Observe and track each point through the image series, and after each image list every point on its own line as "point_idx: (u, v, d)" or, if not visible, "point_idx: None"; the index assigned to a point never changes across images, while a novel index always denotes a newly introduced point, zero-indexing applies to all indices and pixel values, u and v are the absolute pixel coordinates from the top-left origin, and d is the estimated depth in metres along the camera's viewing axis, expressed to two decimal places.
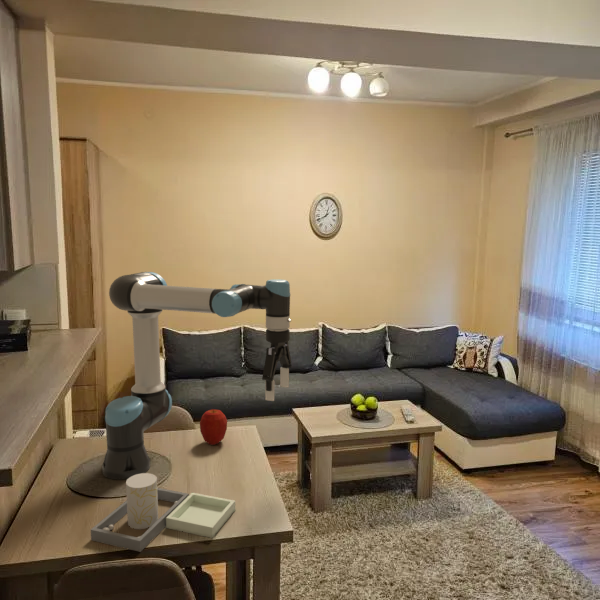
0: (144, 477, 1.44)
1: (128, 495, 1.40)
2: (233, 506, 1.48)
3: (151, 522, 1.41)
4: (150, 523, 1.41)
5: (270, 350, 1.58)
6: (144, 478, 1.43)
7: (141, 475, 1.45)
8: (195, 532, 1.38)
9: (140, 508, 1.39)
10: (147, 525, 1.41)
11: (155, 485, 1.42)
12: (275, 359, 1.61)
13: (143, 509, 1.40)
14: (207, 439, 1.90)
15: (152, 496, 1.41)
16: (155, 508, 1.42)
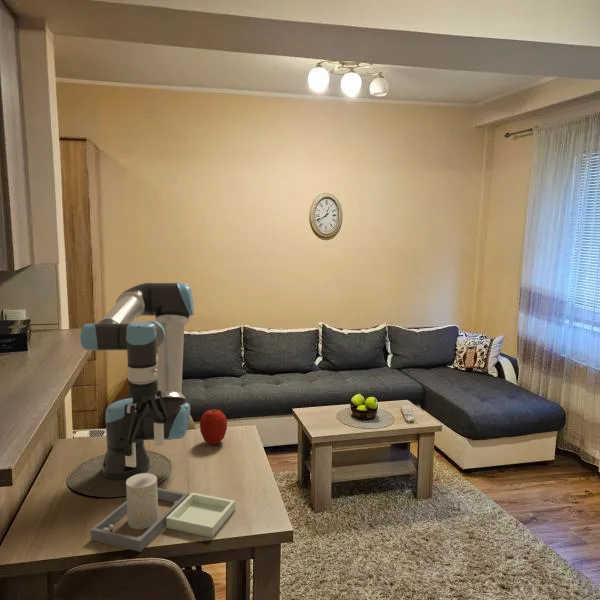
0: (144, 477, 1.44)
1: (128, 495, 1.40)
2: (233, 506, 1.48)
3: (151, 522, 1.41)
4: (150, 523, 1.41)
5: (128, 407, 1.33)
6: (144, 478, 1.43)
7: (141, 475, 1.45)
8: (195, 532, 1.38)
9: (140, 508, 1.39)
10: (147, 525, 1.41)
11: (155, 485, 1.42)
12: (137, 417, 1.36)
13: (143, 509, 1.40)
14: (207, 439, 1.90)
15: (152, 496, 1.41)
16: (155, 508, 1.42)
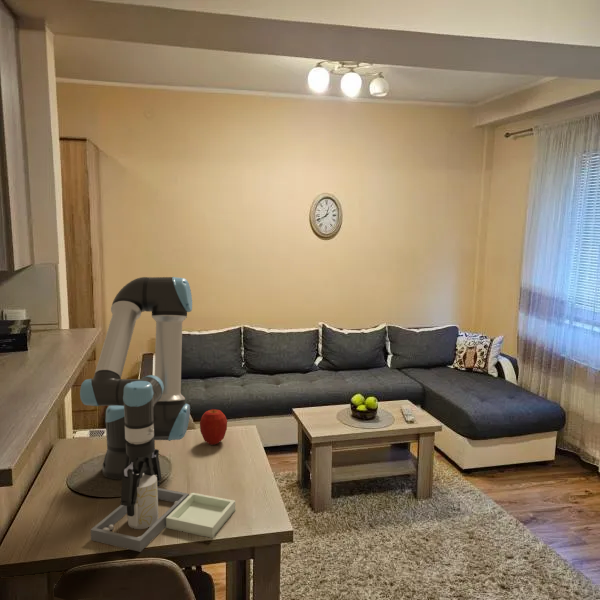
0: (144, 477, 1.44)
1: None
2: (233, 506, 1.48)
3: (151, 522, 1.41)
4: (150, 523, 1.41)
5: (125, 472, 1.35)
6: (144, 478, 1.43)
7: None
8: (195, 532, 1.38)
9: (140, 508, 1.39)
10: (147, 525, 1.41)
11: (155, 485, 1.42)
12: (136, 478, 1.38)
13: (143, 509, 1.40)
14: (207, 439, 1.90)
15: (152, 496, 1.41)
16: (155, 508, 1.42)
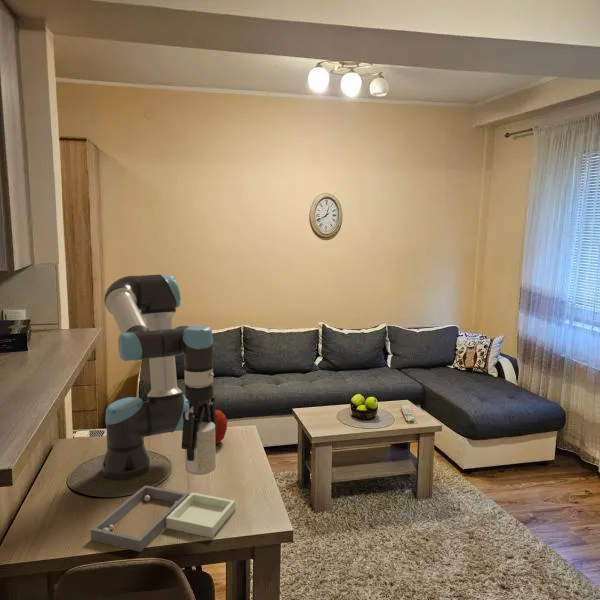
0: (202, 424, 1.42)
1: None
2: (233, 506, 1.48)
3: (210, 468, 1.40)
4: (209, 469, 1.40)
5: (187, 415, 1.34)
6: (202, 424, 1.42)
7: None
8: (195, 532, 1.38)
9: (200, 453, 1.38)
10: (206, 471, 1.39)
11: (214, 431, 1.40)
12: (196, 422, 1.37)
13: (203, 454, 1.38)
14: None
15: (211, 441, 1.39)
16: (213, 454, 1.41)
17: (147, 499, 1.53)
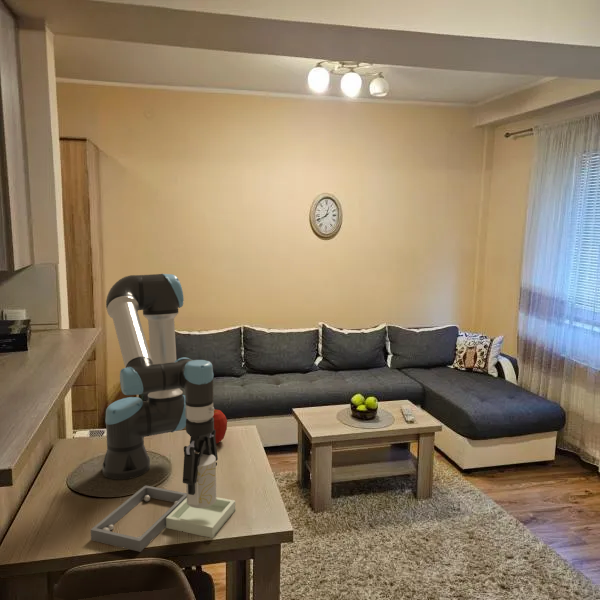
0: (203, 457, 1.44)
1: None
2: (233, 506, 1.48)
3: (211, 501, 1.41)
4: (210, 502, 1.41)
5: (187, 450, 1.35)
6: (203, 457, 1.43)
7: None
8: (195, 532, 1.38)
9: (201, 487, 1.39)
10: (207, 504, 1.41)
11: (214, 464, 1.42)
12: (197, 456, 1.39)
13: (204, 487, 1.40)
14: None
15: (212, 474, 1.41)
16: (214, 487, 1.42)
17: (147, 499, 1.53)
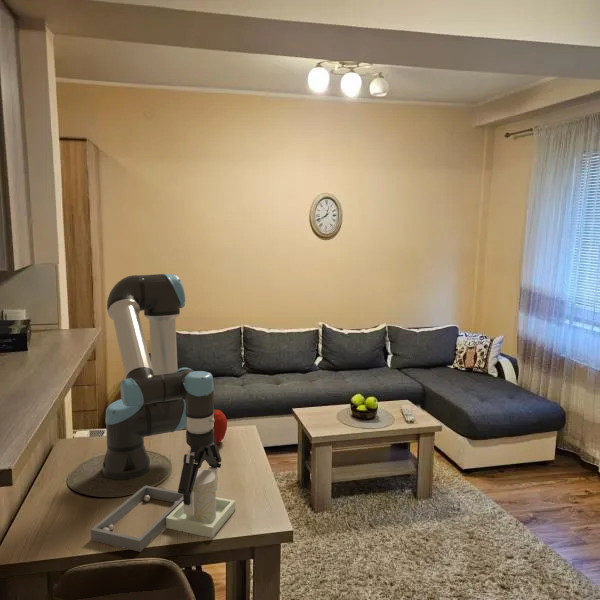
0: (202, 474, 1.44)
1: None
2: (233, 506, 1.48)
3: (210, 518, 1.42)
4: (210, 519, 1.42)
5: (188, 458, 1.35)
6: (202, 475, 1.44)
7: (199, 472, 1.46)
8: (195, 532, 1.38)
9: (200, 505, 1.40)
10: (207, 521, 1.41)
11: (214, 482, 1.43)
12: (195, 466, 1.38)
13: (204, 505, 1.40)
14: None
15: (212, 492, 1.42)
16: (214, 505, 1.43)
17: (147, 499, 1.53)
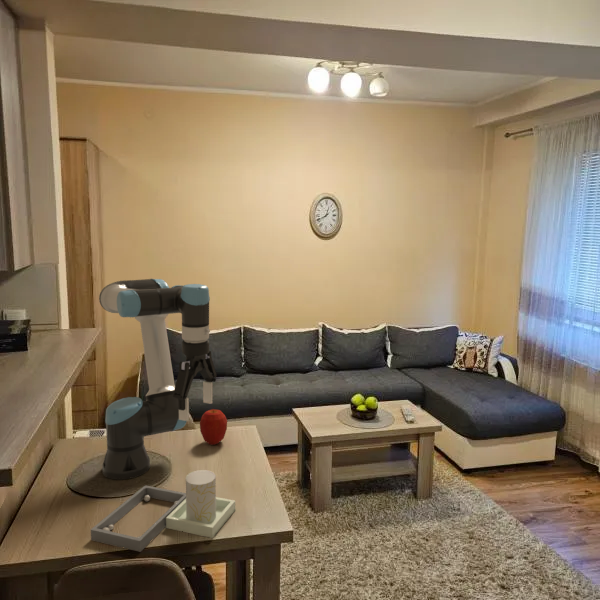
0: (202, 474, 1.44)
1: (188, 492, 1.41)
2: (233, 506, 1.48)
3: (210, 518, 1.42)
4: (210, 519, 1.42)
5: (183, 364, 1.40)
6: (202, 475, 1.44)
7: (199, 472, 1.46)
8: (195, 532, 1.38)
9: (200, 505, 1.40)
10: (207, 521, 1.41)
11: (214, 482, 1.43)
12: (190, 374, 1.43)
13: (204, 505, 1.40)
14: (207, 439, 1.90)
15: (212, 492, 1.42)
16: (214, 505, 1.43)
17: (147, 499, 1.53)
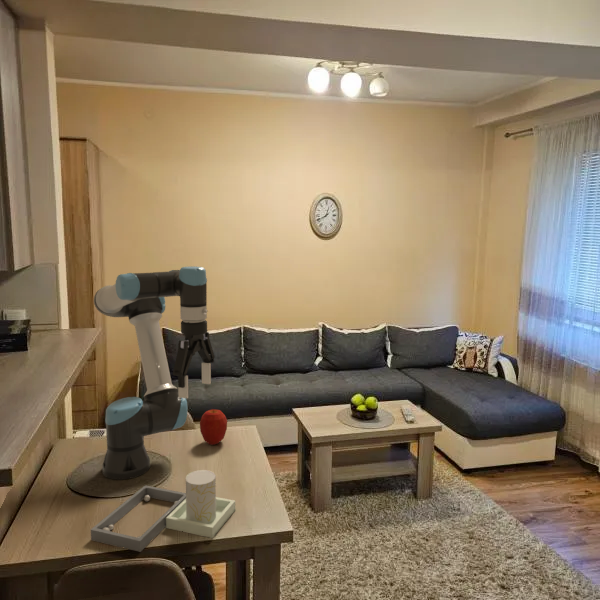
0: (202, 474, 1.44)
1: (188, 492, 1.41)
2: (233, 506, 1.48)
3: (210, 518, 1.42)
4: (210, 519, 1.42)
5: (182, 343, 1.45)
6: (202, 475, 1.44)
7: (199, 472, 1.46)
8: (195, 532, 1.38)
9: (201, 505, 1.40)
10: (207, 521, 1.42)
11: (214, 482, 1.43)
12: (189, 353, 1.48)
13: (204, 505, 1.40)
14: (207, 439, 1.90)
15: (212, 492, 1.42)
16: (214, 505, 1.43)
17: (147, 499, 1.53)
